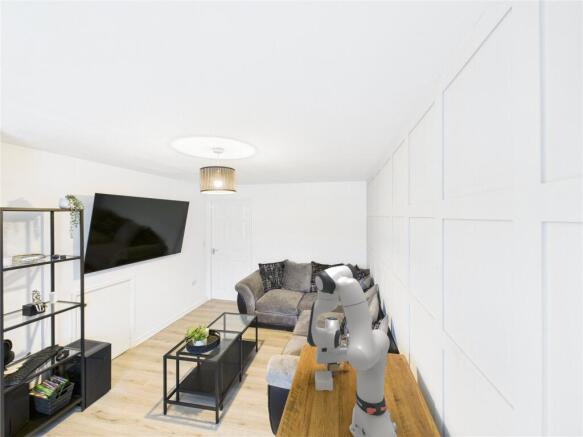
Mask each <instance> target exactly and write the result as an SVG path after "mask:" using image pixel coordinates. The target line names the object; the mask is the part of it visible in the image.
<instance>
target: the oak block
mask: <svg viewBox="0 0 583 437" xmlns="http://www.w3.org/2000/svg"><path fill="white" fill-rule="evenodd" d="M338 363H339V362H336V363H327V366H328V367H329V370H327V371H331V374H332V377H335V376H339V369H338Z"/></svg>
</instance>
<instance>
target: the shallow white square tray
mask: <svg viewBox="0 0 583 437" xmlns="http://www.w3.org/2000/svg"><path fill="white" fill-rule="evenodd" d="M314 384H315V386H314V387H315V391H323V390H329V392H331V391H333V392H334V379H333V376H332V374H331V371H326V370H314Z"/></svg>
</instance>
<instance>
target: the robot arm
mask: <svg viewBox="0 0 583 437" xmlns="http://www.w3.org/2000/svg"><path fill="white" fill-rule="evenodd" d="M358 278H359V274H358V271H357V270H356V268H355V267H354V265H352V264H343V265H337V266H332V267H329V268H327V269H324V270H320V271H318V272H317V273H316V274H315V276H314V284H315V286H316V288H317V299H316V300H315V301H313V303H312V305H311V308H310V314H309V322H308V329H307V333H306V342H307V343H308V345H309V346H310V347H313V348H316V350H315V354H314V356H315V357H314V360H315V363H316V364H317V365H324V366H325V371H327V370H329V367H328V366H327V363H336V362H337V363H338V370H341V369H340V368H341V367H340V366H341V365H343V364H342V362H343V363H344V362H346V363H347V361H349V365H350V366H351V368H353V369H354V370H355V371H356V389H355V396H354V398H355V403H354V407H353V409H352V419H351V424H350V425H349V428H348V430H349V432H350V433H351V435H352V437H398V435H397V433H396V430H397V424H396V422H392V419H391V413H390V412H389V411H388V409H387V408H388V407H387V401H386V397H385V392H384V391H385V390H384V388H385V387H384V382H385V381H384V379H385V371H386V365H387V357H388V351H389V349H390V344H391V343H390V342H391V341H390V338H389V336H388V335H387V333H385V332H384V331H383V330H382V329H378V328H377V329H376V328H375V329H373V328H372V327H373V326H372V325H373V315H372V312H371V309H370V307H369V303H368V300H367V298H366V295H365V292H364V290H363V288H362V286H361V284H360V282H359V281H358ZM339 298H340V302H341V306H342V310H343V312H344V315H345V319H346V322H347V329H348V334H349V345H347V344H346V343H345V344H342V332H341V330H340V328H341V327H340V326H341V325H340V321H339V318H337V317H333V316H331V317H326V318H325V321H324V328H323V327H318V326H317V324H318V317H319V316H321V315H323V314H327V313H328V314H329V313H331V312H333V311H335V309H337V307H338V305H339Z"/></svg>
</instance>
